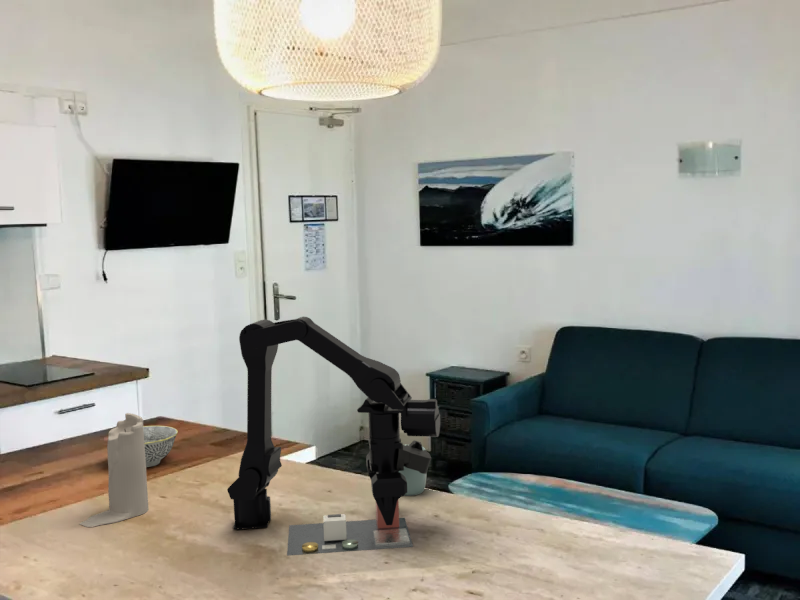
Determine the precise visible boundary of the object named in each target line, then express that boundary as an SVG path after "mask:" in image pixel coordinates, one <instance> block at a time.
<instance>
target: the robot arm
mask: <svg viewBox="0 0 800 600" xmlns="http://www.w3.org/2000/svg"><path fill="white" fill-rule="evenodd" d="M238 339H239V346H240V347H239V348H240V353H241V356H242V357H241V358H242V359H243V361H244V364H245V366H246V370H247V390H246V391H247V395H246V396H247V399H246V400H247V403H246V404H247V406H246V407H247V411H246V413H247V418H246V419H247V420H246V423H247V425H246V426H247V427H246V428H247V429H246V430H247V431H246V435H247V436H246V444H245V447H244V450H243V452H242V456H241V458H240V462H239V463H240V465H239V470H238V478H236V479H235V481H233V482H232V483H231V484H230V485H229V487H227V493H228V495H229V498H230V500H232V501H233V513H234V514H233V518H234V519H233V520H234V521H233V522H234V524H233V527H232V528H233V530H249V529H263V528H267V527H269V522H270V521H271V520H272V519H271V518H272V510H271V509H272V507H271V496H268V487H269V485H270V482H271V480H273V479H274V478H275V476H276V475H278V472H279V469H280V468H281V467H282V466H283V465H282V462H281V454H282V447H281V446H275V445H274V443H273V441H272V369H273V368H272V367H273V364H274V362H275V359H276V356H277V352H278V349H279V345H281V344H285V343H289V342H293V341H299V342H300V343H302V344H303V345H304V346H306V347H307V348H309V349H310V350H312V351H313V352H314V353H316V354H318V355H319V357H322V358H323V359H325V360H326V361H328V362H329V363H330V364H332V365H333V366H335V367H336V368H338V369H339V370H341V371H342V372H343V373H345V374H346V375H347V376H349V378H350V379H351V380H352V381H353V382H354V384H355V385H356V387H357V388H358V389H359V391H361V392H362V393H363V394H364V395H365V396H366V399H365V400H364V401H363V403H362V404H361V405H360V406H359V407H358V408H357V409H356V410H357V411H356V412H357V413H359V414H360V413H362V414H363V413H364V414H366V413H367V415H368V446H369V452H368V453H367V455H366V456H365V457H366V461H365V462H366V464H365V465H366V469H367V473H368V476H369V478H370V483H371V493H372V497H373V499H374V500H375V504H376V503H377V505H378V507H379V510H380V512H381V514H382V516H383V519H384V521H385V523H386V525H392V524H393V519H394V514H395V509H396V505H397V501H399V499H400V498H402V497H404V495H405V494H406V493H407V481H406V478H405V476H404V475H403V474H401V473H400V472H399V471H404V467H406V468H409V469H413V470H416V471H419V472H420V473H422V474H426V475H427V473H428V470H429V467H430V464H431V460H432V457H431V454H430V453H429V452H428V451H427V450H426V449H425V450H423V449H422V446H423V445H422V442H421V441H418V440H415V439H414V440H413V441H412V442H410V444H403V442H402V439H401V431H403V434H406V435H407V436H408V437H429V438H431V437H432V438H433V437H434V438H436V437H437V438H438V437H439V436H440V431H441V414H440V411H439V406H438V400H437V399H436V398H429V399H412V396H411V394H410V393H409V392H408V390H407V389H406V388H405V387H404V386H403V384H402V383H401V381H402V380H401V376H400V373H399V372H398V371H397V370H396V369H395V368H393V367H392V366H389V365H388V364H385V363H383V362H381V361H378V360H375V359H373V358H372V359H371V358H369V357H366V356H364V355H362V354H360V353H359V352H357V351H356V350H355V349H353V348H351V347H350V346H349V345H347V344H346V343H344V341H341V340H340V339H339V338H337V337H335V336H334V335H332V334H331V333H330V332H328V331H327V330H325V329H324V328H323V327H321V326H319V325H318V324H316V323H315V322H314V321H313V319H311V318H310V317H308V316H300V317H298V318H294V319H287V320H281V321H275V322H274V321H272V320H270V319H260V320H258V321H254V322H252V323H249V324H248V325H245V326H244V327H243V328H242V330H241V331H240V333H239V338H238ZM400 428H401V429H400ZM400 430H401V431H400ZM405 445H406V446H405Z"/></svg>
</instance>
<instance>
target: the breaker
mask: <svg viewBox="0 0 800 600" xmlns="http://www.w3.org/2000/svg"><path fill="white" fill-rule="evenodd" d="M346 518H347V517H346V514H345V513H343V514H342V513H335V514H327V515H325V514H324V515H323V519H322V520H323V522H322V523H324V541H332V540H347V536H346V521H347V519H346Z"/></svg>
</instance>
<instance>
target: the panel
mask: <svg viewBox="0 0 800 600" xmlns="http://www.w3.org/2000/svg"><path fill="white" fill-rule="evenodd" d="M346 536H347V540H332V541H324V523H323V522H321V523H320V522H319V523H304V524H303V523H302V524H289V526H288V538H287V547H286V548H287V549H286V556H289V557H290V556H300V555H301V556H303V555H313V554H314V555H315V554H317V555H318V554H329V553H342V552H343V553H346V552H359V551H360V552H361V551H372V550H375V551H376V550H384V549H385V550H387V549H401V548H403V549H404V548H413V547H414V545H413V541H412V537H411V534H410V531H409V527H408V524H407V521H406V518H405V517H399V527H390V528H378V526H377V521H376V519H367V520H363V519H362V520H349V521H347V520H346Z"/></svg>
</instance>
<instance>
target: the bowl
mask: <svg viewBox="0 0 800 600" xmlns="http://www.w3.org/2000/svg"><path fill="white" fill-rule="evenodd" d="M143 429H144V445H145V458H146V468H149V467H151V468H152V467H154V466H157V465H159V464H160V463H161V460H162V459H164V458H165V457H166V456H168V455H169V453H170V452H171V451H172V449H173V446H174V444H175V443H174V442H175V439H176V437H177V435H178V429H176V428H175V427H172V426H166V425H143Z"/></svg>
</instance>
